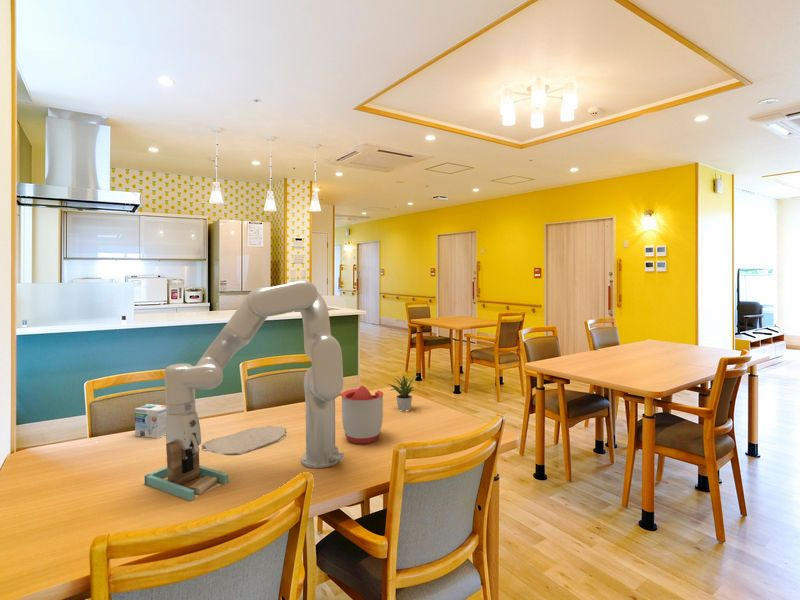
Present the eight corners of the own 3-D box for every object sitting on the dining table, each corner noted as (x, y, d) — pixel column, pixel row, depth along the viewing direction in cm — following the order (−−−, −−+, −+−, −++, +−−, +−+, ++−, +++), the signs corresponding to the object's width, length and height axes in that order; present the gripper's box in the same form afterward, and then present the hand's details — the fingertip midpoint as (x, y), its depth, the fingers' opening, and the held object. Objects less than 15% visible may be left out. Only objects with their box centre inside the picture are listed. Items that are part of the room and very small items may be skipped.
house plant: (407, 403, 211) (407, 369, 210) (427, 409, 201) (427, 374, 200) (383, 408, 202) (383, 373, 201) (403, 416, 191) (403, 378, 191)
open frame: (228, 486, 127) (228, 474, 127) (190, 505, 117) (190, 492, 116) (183, 471, 137) (183, 460, 137) (144, 487, 126) (144, 475, 126)
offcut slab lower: (220, 490, 126) (220, 484, 126) (196, 503, 119) (196, 496, 119) (210, 487, 128) (210, 481, 128) (186, 499, 121) (186, 493, 120)
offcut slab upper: (217, 483, 126) (217, 477, 126) (200, 495, 119) (199, 488, 119) (206, 482, 127) (206, 475, 127) (188, 493, 120) (188, 486, 120)
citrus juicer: (392, 433, 170) (392, 382, 169) (370, 449, 155) (370, 392, 154) (357, 427, 177) (357, 378, 176) (333, 442, 161) (332, 388, 160)
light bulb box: (134, 436, 167) (133, 408, 166) (148, 430, 173) (147, 403, 173) (158, 439, 164) (157, 410, 164) (171, 432, 171) (171, 405, 170)
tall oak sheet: (199, 475, 131) (198, 436, 130) (174, 487, 124) (172, 445, 123) (193, 473, 132) (191, 434, 131) (168, 485, 125) (166, 443, 124)
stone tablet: (198, 449, 156) (198, 442, 156) (274, 427, 178) (274, 421, 177) (219, 462, 145) (219, 455, 144) (297, 438, 166) (297, 432, 166)
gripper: (211, 407, 126) (214, 470, 127) (175, 400, 134) (177, 459, 135) (187, 415, 119) (190, 481, 121) (150, 407, 127) (154, 469, 128)
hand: (183, 469), depth 128 cm, fingers closed on tall oak sheet, 3 cm apart
